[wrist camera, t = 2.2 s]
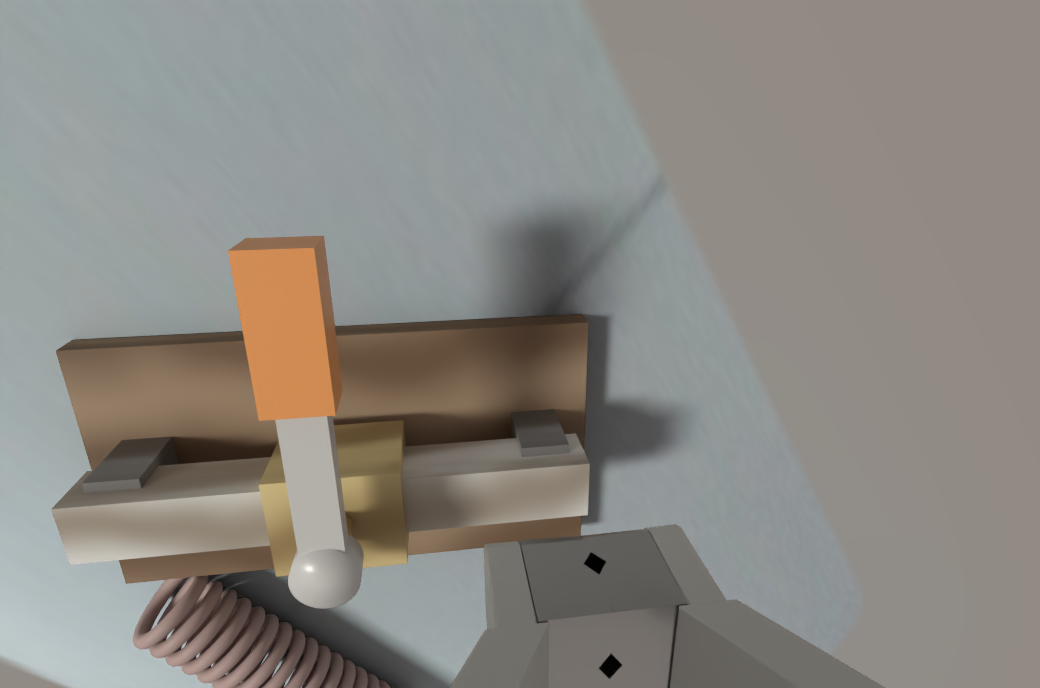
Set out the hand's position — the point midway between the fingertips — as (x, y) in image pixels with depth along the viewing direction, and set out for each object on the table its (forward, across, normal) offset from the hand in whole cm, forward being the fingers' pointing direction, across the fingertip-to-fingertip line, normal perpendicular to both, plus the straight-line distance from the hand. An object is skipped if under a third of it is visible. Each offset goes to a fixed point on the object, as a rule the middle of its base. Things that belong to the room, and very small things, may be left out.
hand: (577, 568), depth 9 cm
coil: (+24, +12, +25) cm, 37 cm away
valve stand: (+24, +7, +11) cm, 27 cm away
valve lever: (+15, +7, +5) cm, 17 cm away
